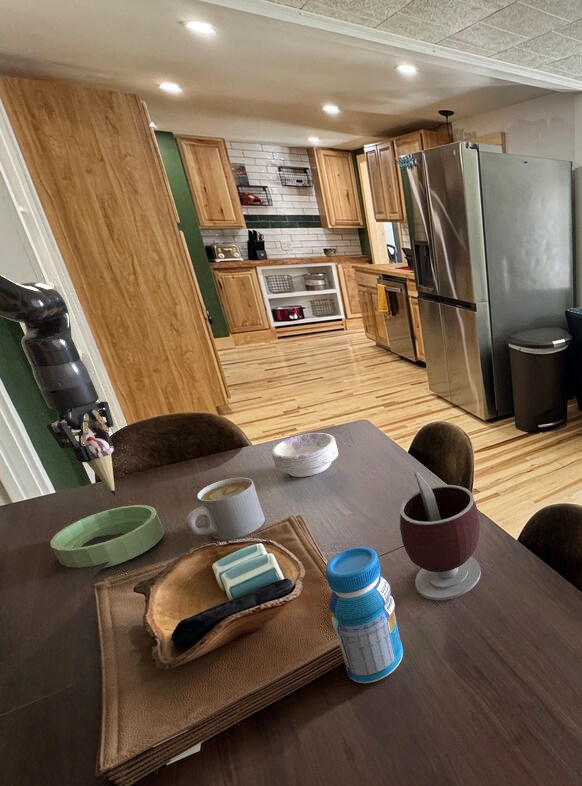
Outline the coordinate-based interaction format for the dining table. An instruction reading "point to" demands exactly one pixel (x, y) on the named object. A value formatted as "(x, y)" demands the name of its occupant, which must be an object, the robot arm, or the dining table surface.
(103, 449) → the ice cream cone
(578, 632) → the dining table surface
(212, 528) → the coffee mug
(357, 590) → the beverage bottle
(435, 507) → the mate gourd
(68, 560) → the green ring
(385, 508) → the dining table surface
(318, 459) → the paper bowls
